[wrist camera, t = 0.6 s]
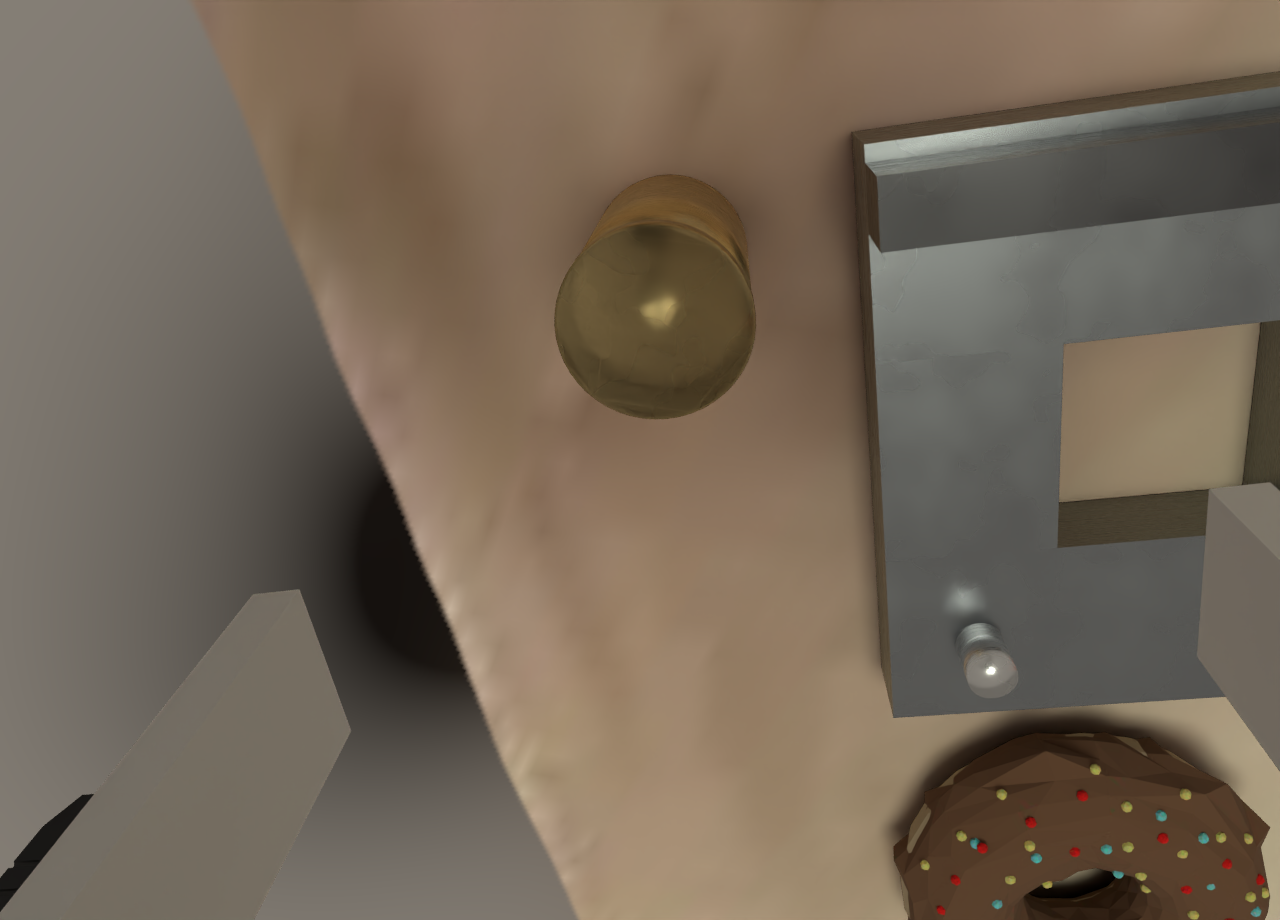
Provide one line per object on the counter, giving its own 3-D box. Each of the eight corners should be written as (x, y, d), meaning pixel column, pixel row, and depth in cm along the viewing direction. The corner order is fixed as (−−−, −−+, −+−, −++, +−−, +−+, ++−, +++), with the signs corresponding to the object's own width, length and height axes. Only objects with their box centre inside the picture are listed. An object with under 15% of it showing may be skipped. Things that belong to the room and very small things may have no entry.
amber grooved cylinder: (580, 184, 31) (537, 238, 24) (740, 162, 31) (745, 211, 24) (605, 337, 34) (573, 428, 26) (756, 319, 33) (765, 408, 26)
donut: (1239, 926, 43) (1301, 1035, 38) (920, 965, 45) (942, 1072, 41) (1223, 661, 37) (1293, 752, 33) (861, 723, 40) (878, 816, 35)
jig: (851, 131, 30) (875, 156, 25) (1499, 40, 28) (1665, 47, 23) (881, 667, 38) (904, 763, 33) (1385, 631, 36) (1489, 730, 31)
